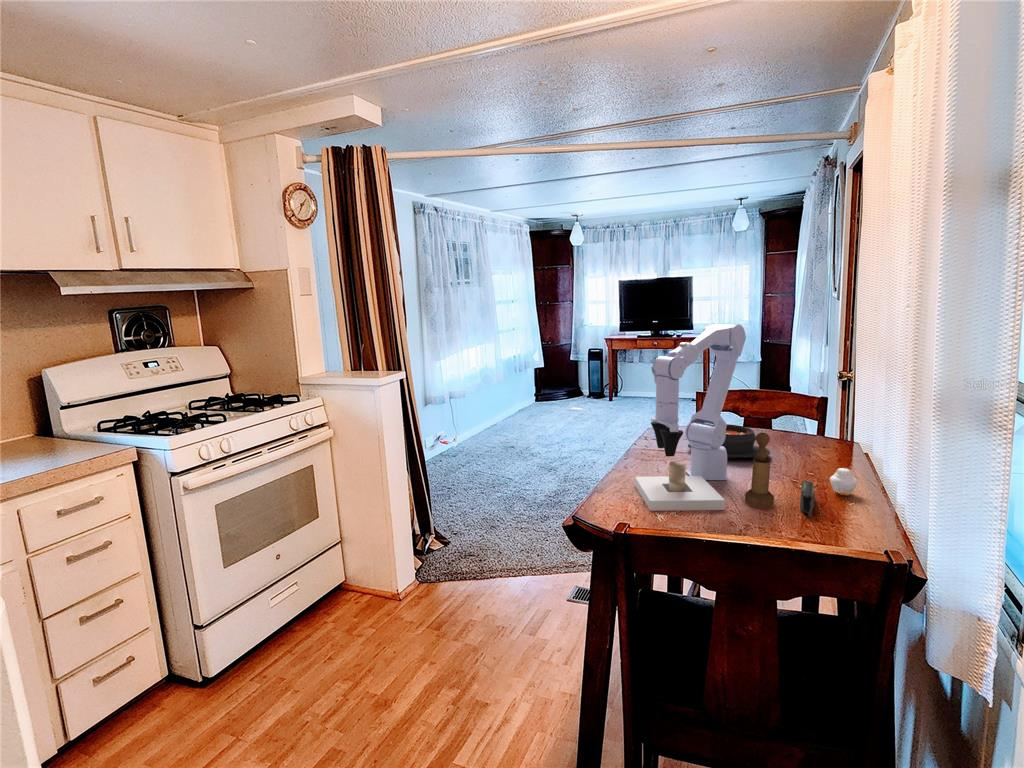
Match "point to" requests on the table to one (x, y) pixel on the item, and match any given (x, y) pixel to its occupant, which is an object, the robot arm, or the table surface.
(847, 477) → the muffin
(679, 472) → the peg
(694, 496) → the socket
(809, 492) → the dark grey oblong block
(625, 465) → the table surface
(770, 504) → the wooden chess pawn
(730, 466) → the table surface
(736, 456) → the casserole
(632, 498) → the table surface
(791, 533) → the table surface
